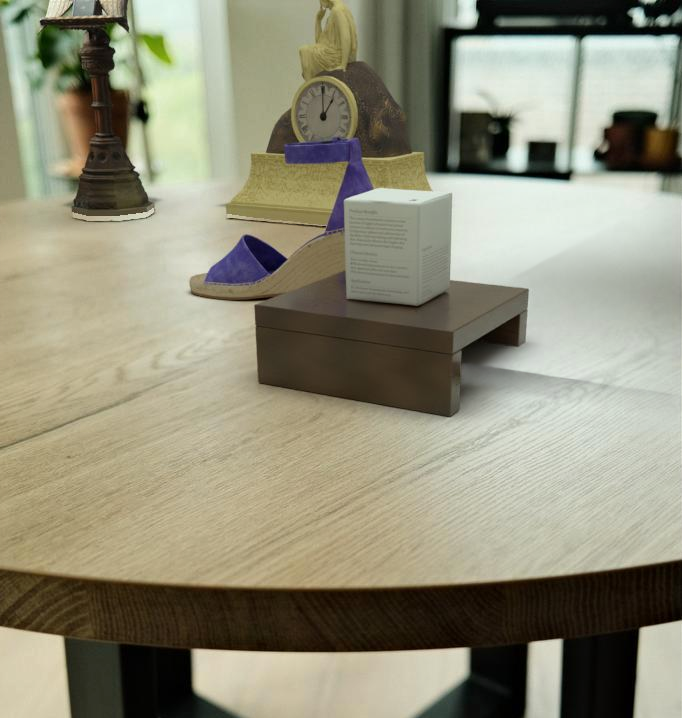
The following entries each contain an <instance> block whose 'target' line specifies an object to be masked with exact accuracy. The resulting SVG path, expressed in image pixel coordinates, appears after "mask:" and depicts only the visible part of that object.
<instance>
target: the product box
mask: <svg viewBox="0 0 682 718" xmlns="http://www.w3.org/2000/svg"><path fill="white" fill-rule="evenodd" d="M452 217H453V192H450V191H434V190H432V191H417V190H401V189H388V188H377V189H374V190H371V191H368V192H365V193H362V194H359V195H355V196H352V197H349V198H347V199H345V200H344V227H345V270H346V298H347V299H353V300H365V301H375V302H385V303H395V304H405V305H414V306H418V305H421V304H423V303H425V302H427V301H429V300H430V299H432V298H434V297H436V296H438V295H439V294H442V293H444V292H446V291H447V290H449V288H450V280H451V264H452V263H451V261H452V259H451V257H452Z"/></svg>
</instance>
